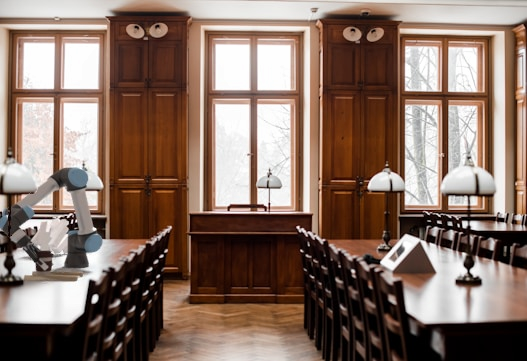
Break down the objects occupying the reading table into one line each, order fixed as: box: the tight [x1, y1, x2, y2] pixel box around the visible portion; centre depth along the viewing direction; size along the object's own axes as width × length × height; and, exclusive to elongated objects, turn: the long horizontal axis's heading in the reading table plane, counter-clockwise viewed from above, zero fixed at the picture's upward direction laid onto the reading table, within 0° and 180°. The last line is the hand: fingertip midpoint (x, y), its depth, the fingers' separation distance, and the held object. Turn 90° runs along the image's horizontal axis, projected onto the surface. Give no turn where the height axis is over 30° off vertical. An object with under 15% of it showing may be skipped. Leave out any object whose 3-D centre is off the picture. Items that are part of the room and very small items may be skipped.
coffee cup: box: [34, 251, 55, 275], centre depth 319 cm, size 10×10×15 cm
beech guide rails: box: [23, 270, 84, 282], centre depth 319 cm, size 16×28×2 cm, turn 96°
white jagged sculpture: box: [30, 218, 70, 255], centre depth 417 cm, size 35×30×35 cm
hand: (49, 267), depth 319 cm, fingers closed on coffee cup, 10 cm apart
